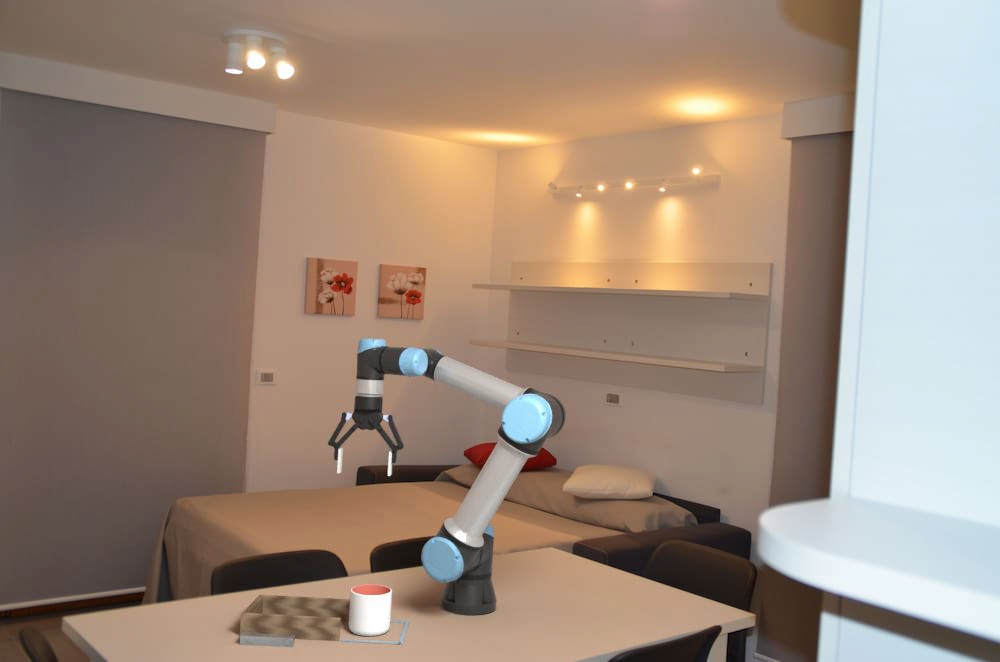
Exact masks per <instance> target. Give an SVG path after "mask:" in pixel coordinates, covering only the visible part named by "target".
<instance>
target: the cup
mask: <svg viewBox="0 0 1000 662" xmlns="http://www.w3.org/2000/svg"><path fill="white" fill-rule="evenodd" d="M392 596H393V590H392V589H391V588H390V587H389V586H386V585H381V584H369V583H368V584H361V585H360V584H359V585H355V586H353V587H351V589H350V596H349V597H350V598H349V599H350V611H349V621H348V629H349V631H350V632H352V633H353V634H354V635H358V636H362V637H376V636H381V635H384V634H386V633H387V632H388V631H389V630H390V627H391V622H390V620H391V618H392V617H391V613H392Z"/></svg>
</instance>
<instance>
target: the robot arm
mask: <svg viewBox="0 0 1000 662" xmlns="http://www.w3.org/2000/svg"><path fill="white" fill-rule="evenodd" d="M356 356H357V357H356V377H355V388H354V390H355V391H354V393H355V394H356V395H355V396H354V407H353V412H348V411H343V412H342V413H341V417H340V421H339V422H338V424H337V426H336V428H335V430H334V431H333V433H332V435H331V437H330V439H329V440H328V442H327V445H328V446H329V447H333V449H334V452H333V453H334V454H333V459H334V461H337V466H336V467H337V469H336V474H341V473H342V471H343V470H342V469H343V456H344V448H343V447H341V446H342V445H343V444H344V443H345V442H346V441H347V440H348V439H349V437H351V436H352V434H354V432H356V431H357V429H359V430H362V431H365V430H367V431H374V430H376V431H377V433H378V434H379V435H380V436H381V437H382V440H383V441H384V442H385V444H387V446H388V448H390V450H389V452H388V464H387V476H388V477H391V476H392V474H393V464H396V462H397V457H398V451H400V450H403V449H404V448H405V445H404V441H402V438H401V436H400V433H399V431H398V428H397V426H396V424H395V418H394V414H392V413H391V414H383V403H384V401H383V399H384V398H383V396H382V395H383V394H384V382H385V375H388V376H389V375H391V376H403V377H408V378H411V377H422V376H423V377H425V378H427V379H429V380H432V381H434V382H437V383H440V384H442V385H444V386H445V387H449V388H451V389H453V390H455V391H457V392H460V393H462V394H465V395H467V396H468V397H471V398H473V399H476V400H478V401H481V402H483V403H485V404H487V405H489V406H492V407H494V408H496V409H498V410H501V411H502V414H501V419H500V420H501V421H500V422H501V423H500V426H499V428H498V430H497V431H496V434H497V438H498V441H497V443H496V444H495V446H494V448H493V449H492V452H491V453H490V454H489V456H488V458H487V460H486V462H485V464H484V465H483V467H482V469H481V470H480V472H479V473H478V475H477V477H476V478H475V481H474V482H473V484H472V486H471V487H470V489H469V490H468V492H467V494H466V495H465V497H464V499H463V501H462V502H461V504H460V506H459V508H458V510H457V511H456V512H455V514H454V516H453V517H448V518H446V519H445V520H444V521H443V523H442V525H441V527H440V528H439V530H438V531H437V533H436V535H435V536H434V537H431V538H430V539H429V540H428V541H427V542H426V543H425V544H424V545H423V547H422V550H421V556H420V557H421V563H422V567H423V569H424V571H425V573H426V574H427V575H428V577H429V578H431V579H432V580H434V581H436V582H438V583H443V584H444V583H445V587H444V589H443V592H442V594H441V596H440V597H441V598H440V607H441V608H442V609H443V610H445V611H447V612H450V613H453V614H456V615H457V614H458V615H466V616H468V615H469V616H471V615H472V616H476V615H485V614H490V613H493V612H494V611H496V609H497V595H496V592H495V589H494V583H493V579H492V575H493V574H492V571H493V558H494V557H493V556H494V541H495V540H494V539H495V531H494V530H495V529H494V526H493V525H492V524H490V523H491V521H492V520H493V518H494V516H495V514H496V512H497V510H498V509H499V508H500V507H501V504H502V502H503V501H504V499H505V498H506V496H507V494H508V492H509V491H510V489H511V488H512V485H513V484H514V482H515V481H516V479H517V478H518V475H519V474H520V472H522V471H521V470H522V469H523V467H524V466H525V464H526V463H527V461H528V459H530V458H534V457H535V458H536V456H538V454H539V452H540V451H541V449H542V448H543V446H544V444H545V442H546V441H547V439H549V438H552V437H555V436H556V435H558V434H559V433H560V432H561V431H562V429H563V428H564V427H565V425H566V420H567V412H566V407H565V406H564V403H562V401H561V400H560V399H559V398H558V397H556V396H555V395H553V394H550V393H547V392H544V391H540V390H537V389H535V388H532V387H530V386H527V387H526V388H523V387H520V386H517V385H515V384H513V383H510V382H508V381H506V380H504V379H501V378H499V377H497V376H495V375H492V374H489V373H488V372H484V371H482V370H480V369H478V368H475V367H473V366H470V365H468V364H465V363H464V362H461V361H459V360H456V359H453V358H451V357H450V356H449V357H448V356H446V355H444V354H443V353H442V352H441V351H439V350H438V349H434V348H431V347H430V348H428V347H427V348H419V347H402V346H399V347H397V346H396V347H395V346H387V340H385V339H384V338H368V337H367V338H366V337H364V338H361V339H359V340H358V346H357V353H356ZM350 419H352V421H353V422H354V424H353V425H352V426H351V427H350V428H349V429H348V430H347V431H346V433H345V434H344V435H342V437H341V438H339V440H338V441H337V439H338V437H339V435H340V434H341V432H342V430H343V429H344V426H345V425H346V423H347V421H349V420H350ZM384 420H385V422H386V423H387V424H388V426H389V428H390V431H391V433H392V437H393V438H394V440H395V443H396V444H395V443H394V441H393V440H392V438H390V436H389V434H388V433H387V432H386V431H385V429H384V427H383V425H381V423H382V422H383V421H384ZM336 441H337V442H336Z"/></svg>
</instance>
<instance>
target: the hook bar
mask: <svg viewBox="0 0 1000 662" xmlns="http://www.w3.org/2000/svg"><path fill="white" fill-rule="evenodd" d="M295 641H296V639H295V636H293V635H274V634H256V633H254V630H245V631H244V632H243V633H242V634H241V635H240V634H239V646H241V645H242V646H243V645H244V646H261V647H262V646H263V647H276V648H277V647H278V648H282V647H283V648H293V647H294V646H295V644H296V643H295Z"/></svg>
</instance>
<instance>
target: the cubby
mask: <svg viewBox="0 0 1000 662" xmlns="http://www.w3.org/2000/svg"><path fill="white" fill-rule="evenodd" d="M349 611H350V598H333V597H331V598H330V597H314V596H313V597H311V596H294V595H277V594H276V595H275V594H258V596H257V597H256V598H255V599H254V600H253V601H252V602H251V603H250V604H249V605H248V606H247V607H246V608H245V610H243V612H241V614H240V622H239V623H240V625H239V626H240V627H239V636H240V635H241V634H242V633H243V632H244V631H245V630H254V633H256V634H274V635H293V636H295V640H298V639H299V640H311V641H314V640H315V641H317V640H318V641H332V642H333V641H334V642H339V641H340V640H341V637H340V636H341V625H342V622H341V621H347V622H349Z"/></svg>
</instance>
